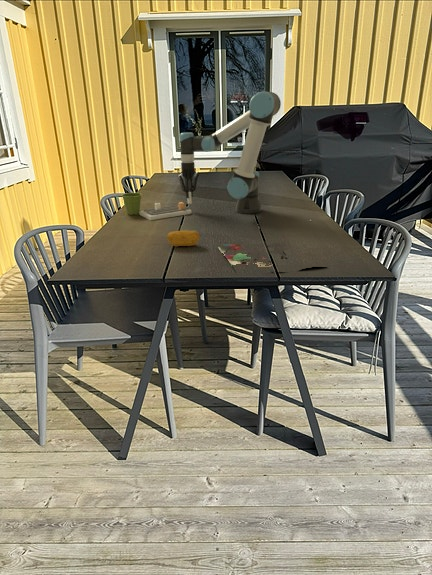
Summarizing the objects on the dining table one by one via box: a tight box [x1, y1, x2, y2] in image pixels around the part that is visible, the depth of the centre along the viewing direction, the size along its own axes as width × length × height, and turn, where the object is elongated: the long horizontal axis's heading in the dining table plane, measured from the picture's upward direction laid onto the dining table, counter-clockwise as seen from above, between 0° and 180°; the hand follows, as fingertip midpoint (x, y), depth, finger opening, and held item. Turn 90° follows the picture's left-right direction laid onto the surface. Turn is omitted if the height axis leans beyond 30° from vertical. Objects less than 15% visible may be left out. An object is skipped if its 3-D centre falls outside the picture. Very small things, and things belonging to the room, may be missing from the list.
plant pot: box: [120, 192, 143, 216], centre depth 233 cm, size 12×12×11 cm
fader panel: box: [138, 202, 192, 221], centre depth 231 cm, size 16×26×6 cm, turn 121°
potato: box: [166, 230, 201, 247], centre depth 177 cm, size 7×14×7 cm, turn 88°
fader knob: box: [177, 201, 186, 210], centre depth 232 cm, size 3×2×4 cm
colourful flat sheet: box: [217, 243, 273, 267], centre depth 162 cm, size 35×35×2 cm
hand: (189, 203), depth 235 cm, fingers closed
